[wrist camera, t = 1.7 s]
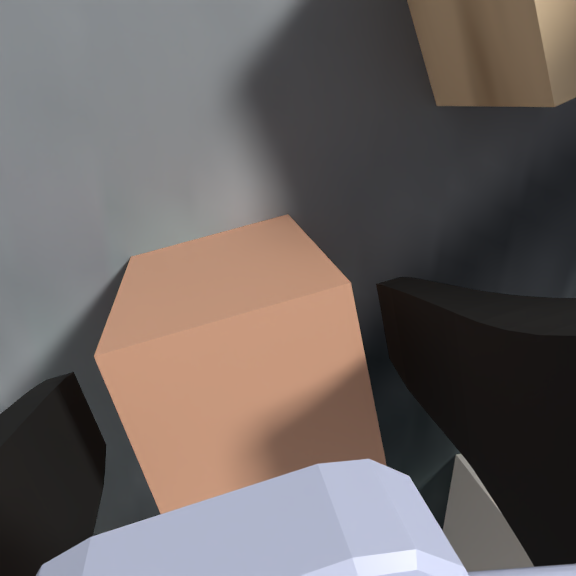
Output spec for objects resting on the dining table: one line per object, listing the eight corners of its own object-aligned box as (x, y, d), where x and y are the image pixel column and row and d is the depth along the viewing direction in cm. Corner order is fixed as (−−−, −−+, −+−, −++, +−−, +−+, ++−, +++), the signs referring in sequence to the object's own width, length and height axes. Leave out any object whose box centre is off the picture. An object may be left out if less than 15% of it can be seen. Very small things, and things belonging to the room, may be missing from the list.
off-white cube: (575, 441, 20) (696, 546, 15) (549, 543, 21) (650, 666, 17) (454, 452, 19) (543, 568, 14) (436, 558, 20) (510, 692, 16)
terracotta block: (288, 214, 14) (350, 282, 9) (319, 350, 16) (389, 480, 11) (131, 256, 14) (93, 356, 8) (180, 392, 16) (175, 550, 10)
